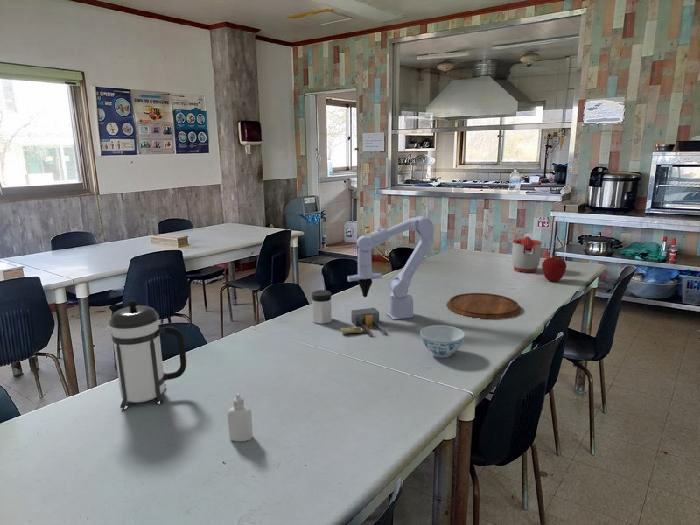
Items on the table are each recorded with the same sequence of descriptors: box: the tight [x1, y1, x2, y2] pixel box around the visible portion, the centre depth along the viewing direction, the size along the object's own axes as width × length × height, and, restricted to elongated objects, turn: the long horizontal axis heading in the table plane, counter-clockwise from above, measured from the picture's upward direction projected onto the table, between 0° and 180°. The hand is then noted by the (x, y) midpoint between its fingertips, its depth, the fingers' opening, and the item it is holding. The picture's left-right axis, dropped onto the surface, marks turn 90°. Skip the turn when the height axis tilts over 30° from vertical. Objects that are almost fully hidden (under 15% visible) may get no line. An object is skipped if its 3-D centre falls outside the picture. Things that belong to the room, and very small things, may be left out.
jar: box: [311, 289, 333, 325], centre depth 202 cm, size 9×8×12 cm
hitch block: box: [350, 307, 387, 338], centre depth 194 cm, size 10×18×5 cm, turn 17°
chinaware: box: [420, 324, 466, 358], centre depth 168 cm, size 15×15×8 cm
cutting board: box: [446, 292, 522, 320], centre depth 216 cm, size 32×32×2 cm
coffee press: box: [104, 299, 187, 410], centre depth 139 cm, size 17×16×30 cm
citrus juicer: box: [511, 235, 543, 273], centre depth 276 cm, size 16×17×20 cm
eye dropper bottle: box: [227, 393, 254, 442], centre depth 120 cm, size 4×6×12 cm
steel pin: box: [363, 314, 374, 328], centre depth 200 cm, size 3×12×5 cm, turn 17°
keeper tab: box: [339, 326, 366, 334], centre depth 189 cm, size 9×4×1 cm, turn 107°
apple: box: [541, 256, 567, 282], centre depth 255 cm, size 12×12×13 cm
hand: (364, 296), depth 204 cm, fingers closed
